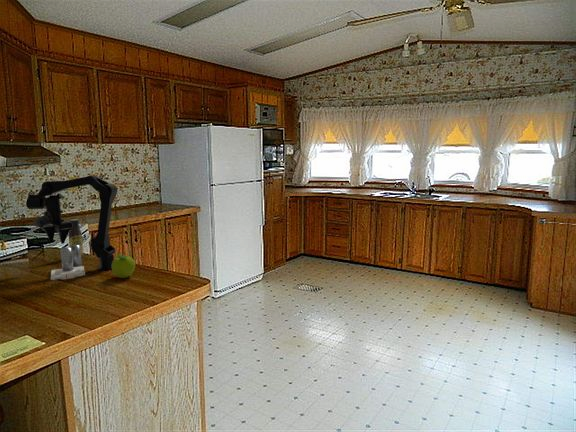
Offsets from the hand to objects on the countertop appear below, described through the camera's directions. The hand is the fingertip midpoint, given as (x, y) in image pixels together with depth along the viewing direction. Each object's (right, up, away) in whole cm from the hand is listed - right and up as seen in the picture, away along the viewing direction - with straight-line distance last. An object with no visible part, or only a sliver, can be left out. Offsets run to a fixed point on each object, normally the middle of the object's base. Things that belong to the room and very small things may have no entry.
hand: (57, 242), depth 185 cm
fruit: (+36, -14, -11) cm, 40 cm away
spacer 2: (+4, -12, +9) cm, 15 cm away
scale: (+8, -14, -6) cm, 17 cm away
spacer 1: (+8, -12, -5) cm, 15 cm away
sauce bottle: (-4, -10, +25) cm, 27 cm away
